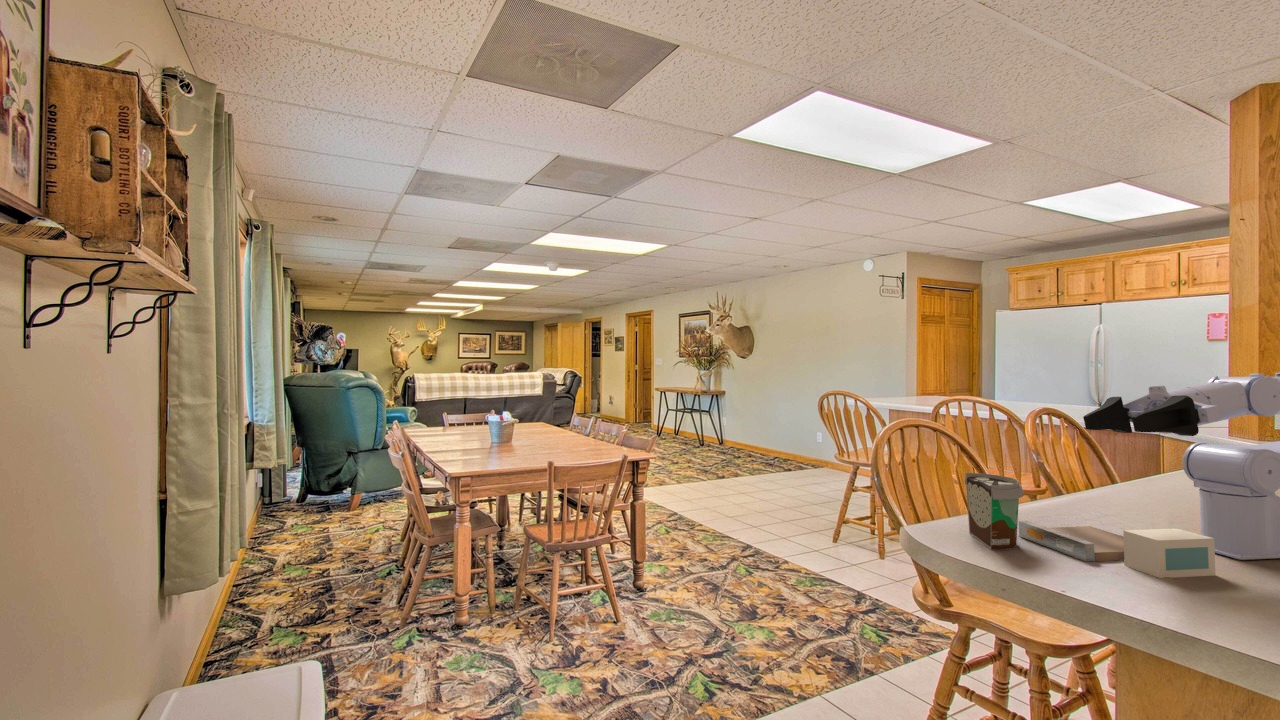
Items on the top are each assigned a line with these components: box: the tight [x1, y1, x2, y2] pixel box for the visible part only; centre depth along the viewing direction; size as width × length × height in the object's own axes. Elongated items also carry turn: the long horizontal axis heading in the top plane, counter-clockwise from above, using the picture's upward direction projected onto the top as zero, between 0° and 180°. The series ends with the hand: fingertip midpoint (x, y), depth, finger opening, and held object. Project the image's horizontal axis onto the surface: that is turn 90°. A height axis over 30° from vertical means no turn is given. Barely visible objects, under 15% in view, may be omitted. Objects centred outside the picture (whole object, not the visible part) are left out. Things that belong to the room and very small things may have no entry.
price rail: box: [1018, 520, 1096, 563], centre depth 89 cm, size 2×13×2 cm, turn 5°
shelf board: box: [1049, 525, 1124, 562], centre depth 89 cm, size 11×13×1 cm
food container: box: [964, 472, 1025, 551], centre depth 93 cm, size 12×6×10 cm, turn 168°
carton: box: [1122, 528, 1217, 579], centre depth 79 cm, size 8×5×5 cm, turn 94°
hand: (1109, 423), depth 84 cm, fingers open, 7 cm apart
